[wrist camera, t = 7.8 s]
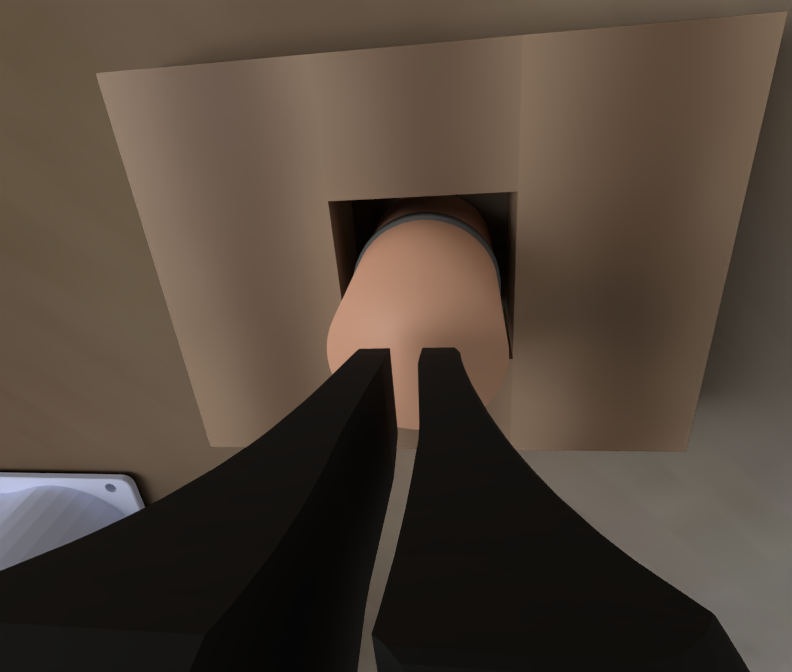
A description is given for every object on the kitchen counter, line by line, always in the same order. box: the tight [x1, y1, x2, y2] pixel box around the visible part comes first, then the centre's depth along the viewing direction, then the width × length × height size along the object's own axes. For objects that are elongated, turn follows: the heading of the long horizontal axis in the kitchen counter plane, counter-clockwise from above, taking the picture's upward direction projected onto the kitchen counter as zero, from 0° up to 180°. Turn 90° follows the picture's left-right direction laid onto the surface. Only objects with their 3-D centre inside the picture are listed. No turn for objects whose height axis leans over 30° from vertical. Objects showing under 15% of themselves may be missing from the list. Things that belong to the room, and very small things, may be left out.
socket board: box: [96, 11, 788, 452], centre depth 16 cm, size 16×12×3 cm
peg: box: [327, 195, 509, 430], centre depth 15 cm, size 4×4×7 cm
